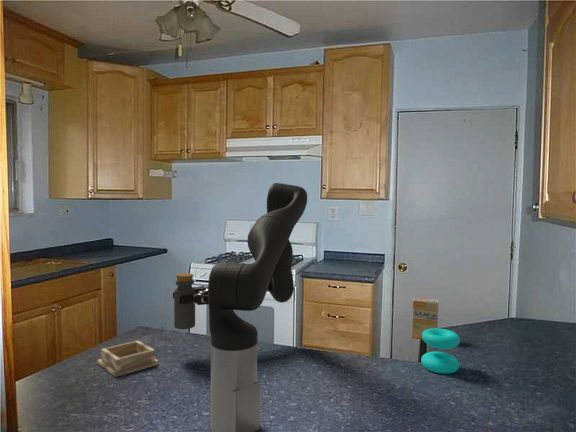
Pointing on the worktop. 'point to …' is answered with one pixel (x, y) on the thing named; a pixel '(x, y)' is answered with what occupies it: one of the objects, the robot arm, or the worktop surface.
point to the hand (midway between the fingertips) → (176, 297)
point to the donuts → (440, 360)
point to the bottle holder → (127, 358)
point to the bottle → (184, 312)
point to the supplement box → (423, 316)
